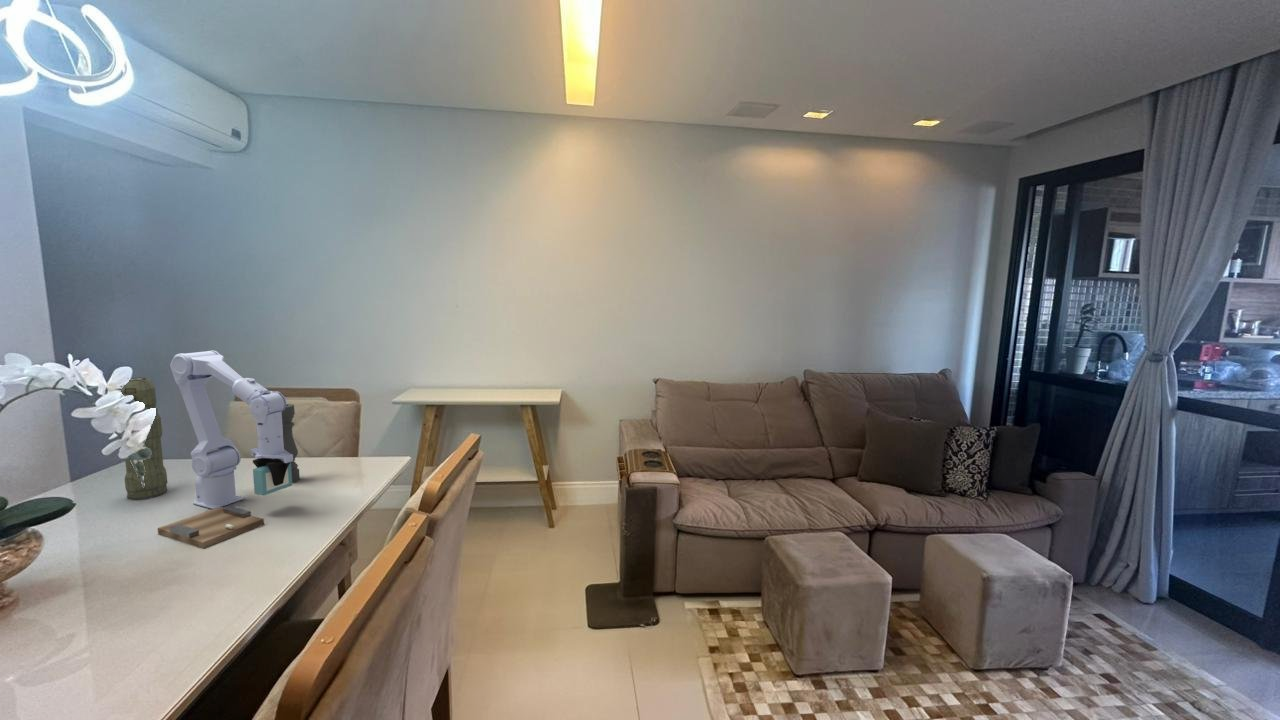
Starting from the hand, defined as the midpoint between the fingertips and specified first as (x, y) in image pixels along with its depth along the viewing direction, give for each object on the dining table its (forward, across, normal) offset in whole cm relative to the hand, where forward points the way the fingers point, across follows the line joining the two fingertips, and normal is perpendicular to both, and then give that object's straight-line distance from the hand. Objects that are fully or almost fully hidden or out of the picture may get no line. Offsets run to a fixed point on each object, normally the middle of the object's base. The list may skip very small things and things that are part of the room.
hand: (273, 483), depth 142 cm
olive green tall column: (+8, -44, -8) cm, 45 cm away
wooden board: (+8, -3, -14) cm, 16 cm away
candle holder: (+8, -18, +16) cm, 25 cm away
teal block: (+2, 0, 0) cm, 2 cm away
